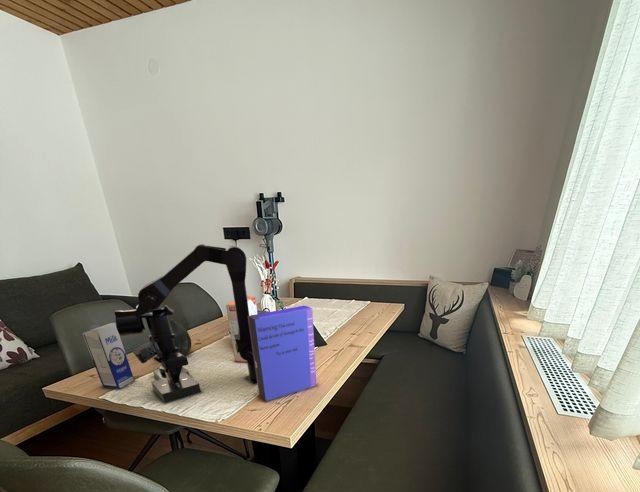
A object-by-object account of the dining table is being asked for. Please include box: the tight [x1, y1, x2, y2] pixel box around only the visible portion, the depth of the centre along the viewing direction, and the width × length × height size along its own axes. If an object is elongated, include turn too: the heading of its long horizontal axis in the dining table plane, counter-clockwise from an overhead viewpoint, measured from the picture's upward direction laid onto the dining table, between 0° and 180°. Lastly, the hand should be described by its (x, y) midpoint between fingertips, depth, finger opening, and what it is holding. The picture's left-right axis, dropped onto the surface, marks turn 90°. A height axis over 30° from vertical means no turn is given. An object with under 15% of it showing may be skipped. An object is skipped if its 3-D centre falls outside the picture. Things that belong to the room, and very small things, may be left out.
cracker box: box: [225, 295, 258, 363], centre depth 132 cm, size 14×6×21 cm, turn 168°
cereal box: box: [248, 305, 318, 402], centre depth 103 cm, size 17×5×24 cm, turn 124°
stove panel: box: [150, 372, 202, 404], centre depth 111 cm, size 12×11×3 cm
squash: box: [168, 319, 192, 357], centre depth 137 cm, size 14×15×15 cm
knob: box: [165, 370, 181, 385], centre depth 109 cm, size 4×4×4 cm
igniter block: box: [152, 365, 190, 380], centre depth 121 cm, size 10×9×4 cm
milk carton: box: [81, 322, 135, 390], centre depth 113 cm, size 7×7×20 cm
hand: (174, 381), depth 110 cm, fingers closed on knob, 4 cm apart
